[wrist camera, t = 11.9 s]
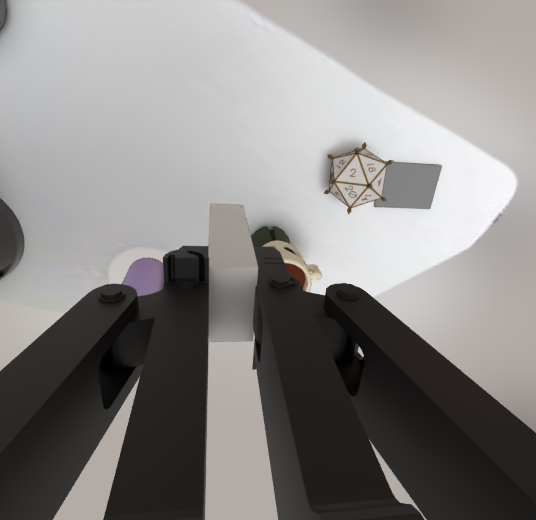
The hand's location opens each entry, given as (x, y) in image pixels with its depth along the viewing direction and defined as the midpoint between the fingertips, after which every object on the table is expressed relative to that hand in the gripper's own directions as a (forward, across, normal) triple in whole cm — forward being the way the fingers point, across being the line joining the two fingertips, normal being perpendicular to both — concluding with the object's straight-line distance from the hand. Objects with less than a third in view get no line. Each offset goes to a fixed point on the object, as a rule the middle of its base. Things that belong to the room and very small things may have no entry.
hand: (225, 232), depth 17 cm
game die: (+35, +18, -3) cm, 39 cm away
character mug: (+35, +8, -15) cm, 38 cm away
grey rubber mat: (+34, +28, -5) cm, 45 cm away
